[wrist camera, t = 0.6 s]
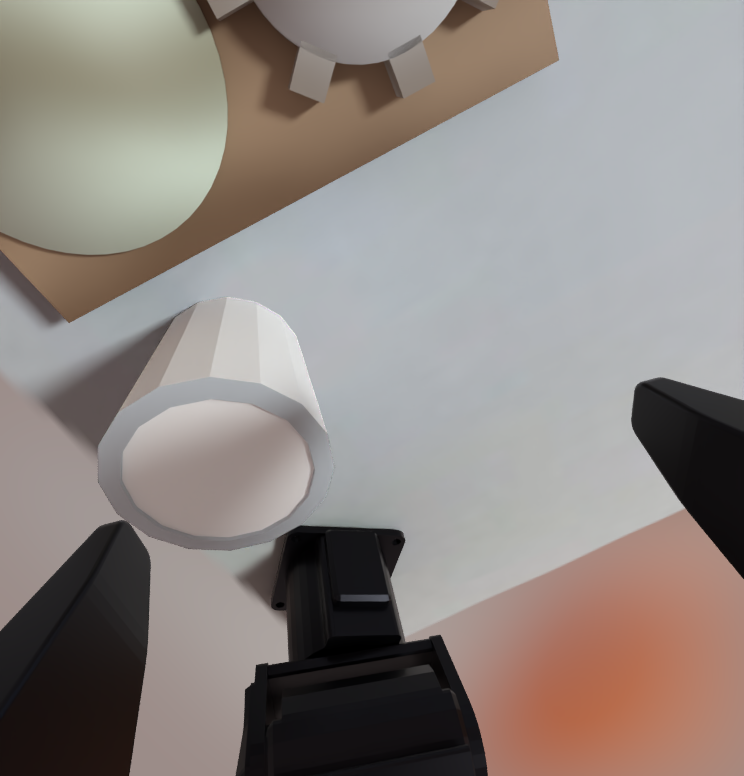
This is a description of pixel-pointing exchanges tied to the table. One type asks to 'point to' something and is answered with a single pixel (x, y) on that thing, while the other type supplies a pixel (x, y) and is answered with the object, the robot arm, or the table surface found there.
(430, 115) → the gear board
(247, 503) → the shot glass
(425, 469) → the table surface
